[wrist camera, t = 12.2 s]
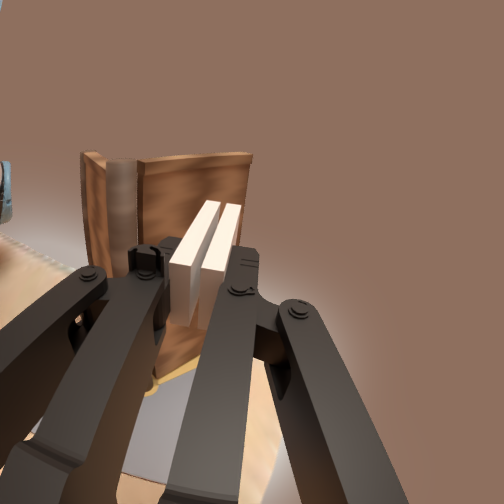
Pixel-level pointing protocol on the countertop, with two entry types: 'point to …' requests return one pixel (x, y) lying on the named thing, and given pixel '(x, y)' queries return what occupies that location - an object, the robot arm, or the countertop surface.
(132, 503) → the countertop surface
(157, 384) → the card
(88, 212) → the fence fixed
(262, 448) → the countertop surface
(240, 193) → the brown wooden board
